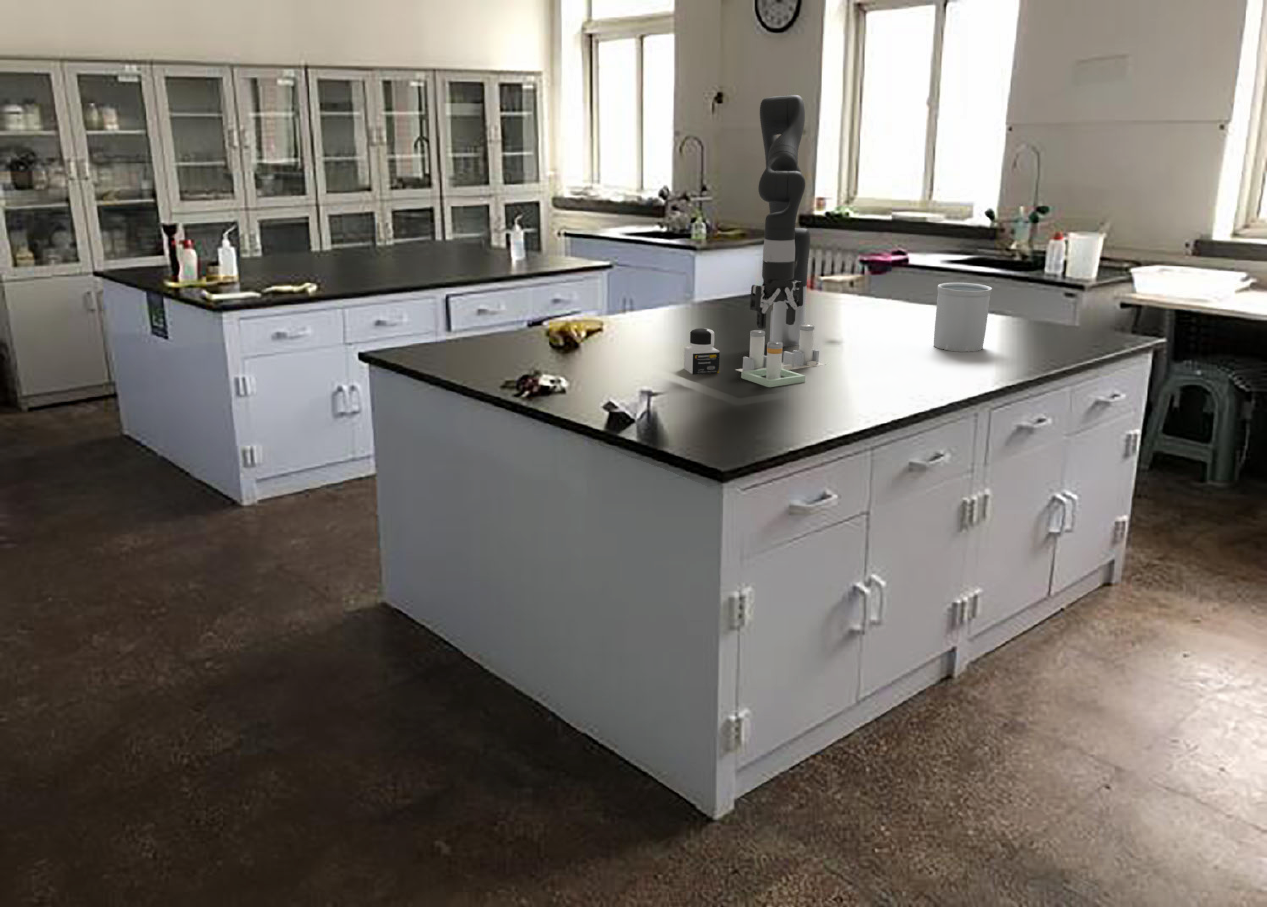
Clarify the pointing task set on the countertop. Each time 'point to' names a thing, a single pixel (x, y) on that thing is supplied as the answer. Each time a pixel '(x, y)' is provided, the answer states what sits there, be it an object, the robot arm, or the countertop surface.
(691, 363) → the medicine bottle
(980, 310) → the utensil holder
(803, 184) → the robot arm
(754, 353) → the cylinder
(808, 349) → the white capsule
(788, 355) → the holder
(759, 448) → the countertop surface
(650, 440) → the countertop surface
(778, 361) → the fuse marked
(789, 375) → the tray
